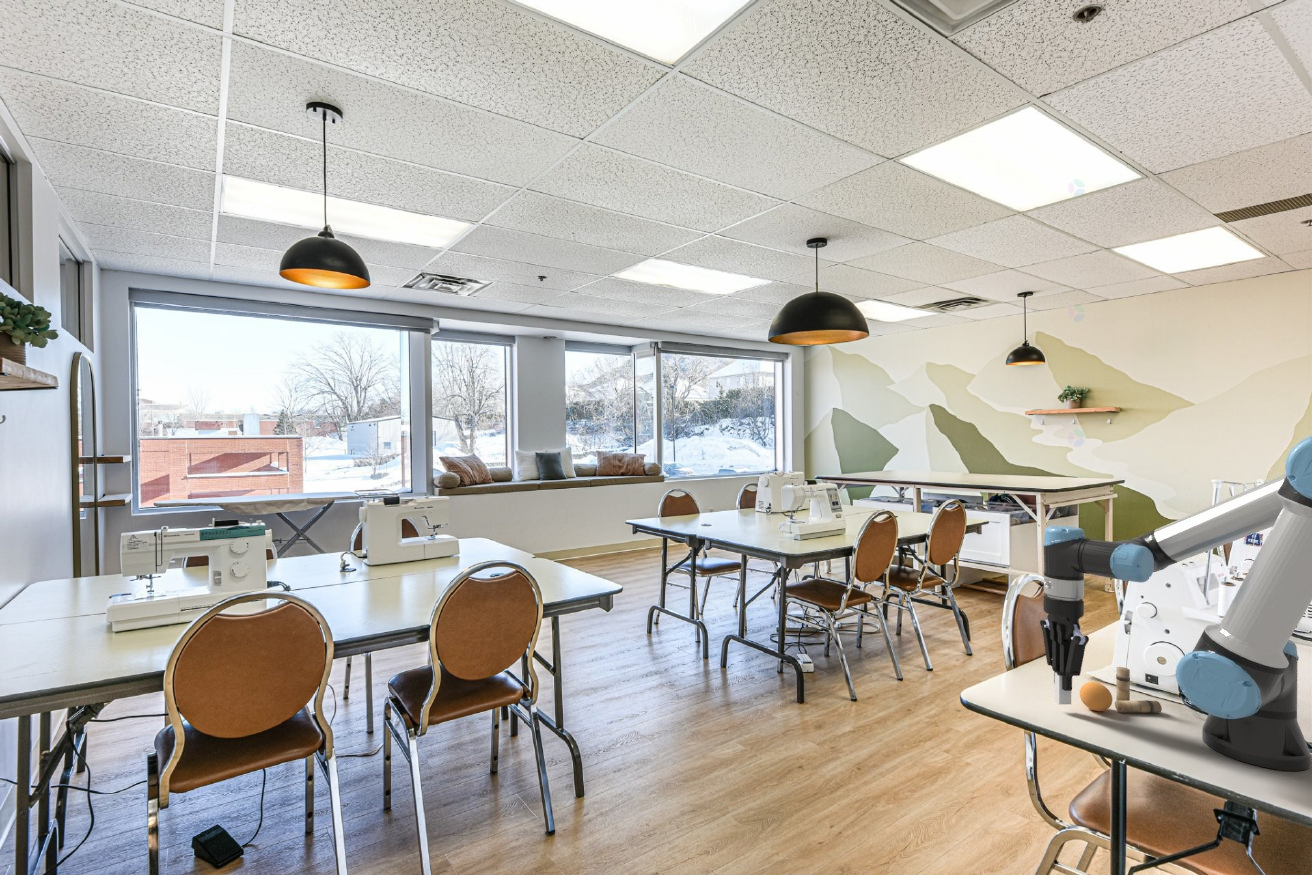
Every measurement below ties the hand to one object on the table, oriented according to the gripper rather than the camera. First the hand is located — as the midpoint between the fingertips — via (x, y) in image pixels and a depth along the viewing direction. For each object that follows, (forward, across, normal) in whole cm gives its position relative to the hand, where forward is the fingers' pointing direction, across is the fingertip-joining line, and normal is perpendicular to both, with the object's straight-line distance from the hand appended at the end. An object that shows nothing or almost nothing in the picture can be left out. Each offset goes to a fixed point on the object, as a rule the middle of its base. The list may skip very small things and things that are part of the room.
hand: (1062, 702), depth 138 cm
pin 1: (+2, -3, +16) cm, 16 cm away
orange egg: (-1, -1, +8) cm, 8 cm away
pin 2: (+1, 0, +12) cm, 12 cm away
